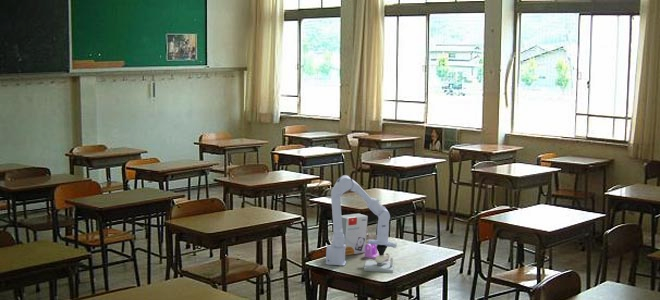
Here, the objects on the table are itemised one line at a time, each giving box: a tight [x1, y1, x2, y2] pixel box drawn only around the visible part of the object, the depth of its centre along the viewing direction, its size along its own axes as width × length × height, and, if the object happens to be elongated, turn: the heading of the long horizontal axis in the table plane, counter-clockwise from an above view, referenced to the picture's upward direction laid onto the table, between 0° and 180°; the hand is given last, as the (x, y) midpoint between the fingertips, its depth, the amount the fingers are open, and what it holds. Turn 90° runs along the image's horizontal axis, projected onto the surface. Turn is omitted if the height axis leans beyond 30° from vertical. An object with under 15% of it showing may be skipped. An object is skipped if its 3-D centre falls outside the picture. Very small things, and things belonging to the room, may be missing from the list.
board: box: [363, 257, 395, 274], centre depth 399 cm, size 14×14×6 cm
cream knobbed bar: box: [375, 253, 391, 263], centre depth 402 cm, size 10×4×3 cm, turn 146°
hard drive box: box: [341, 213, 369, 256], centre depth 425 cm, size 16×8×20 cm, turn 129°
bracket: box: [364, 243, 390, 262], centre depth 418 cm, size 13×6×7 cm, turn 47°
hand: (381, 259), depth 405 cm, fingers closed
